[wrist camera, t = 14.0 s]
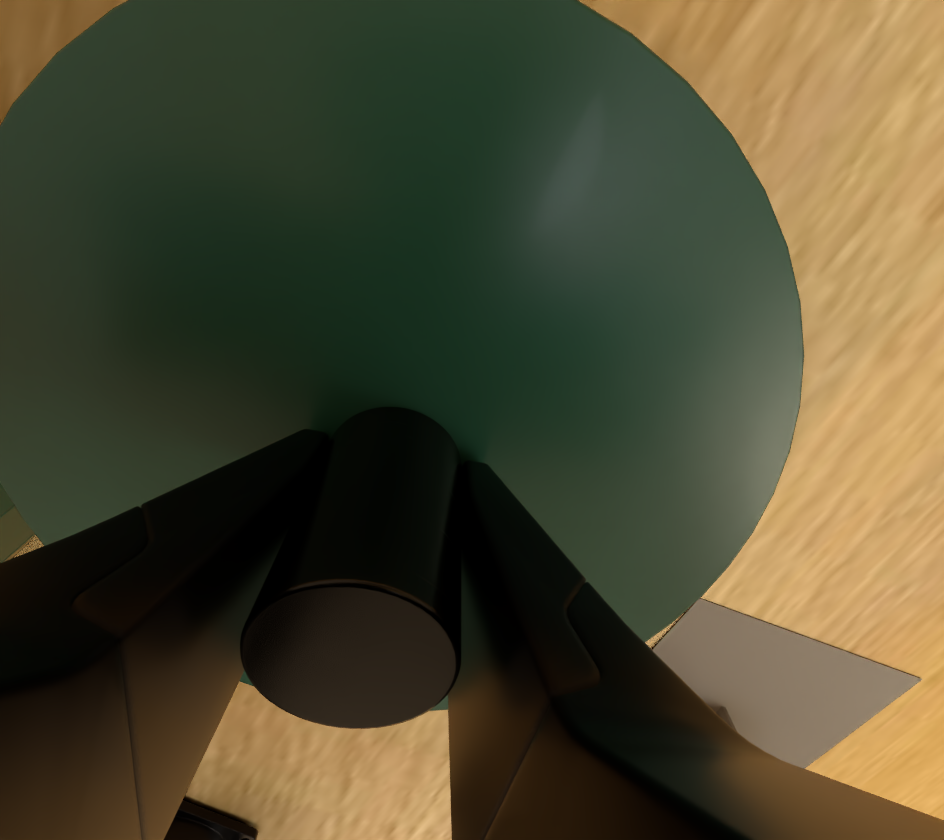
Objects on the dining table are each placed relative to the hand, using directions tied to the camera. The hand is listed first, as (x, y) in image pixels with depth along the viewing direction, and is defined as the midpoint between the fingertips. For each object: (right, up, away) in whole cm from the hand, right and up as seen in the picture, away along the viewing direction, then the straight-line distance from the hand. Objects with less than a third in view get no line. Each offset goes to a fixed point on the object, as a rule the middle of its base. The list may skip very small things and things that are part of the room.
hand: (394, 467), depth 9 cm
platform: (+12, -15, +16) cm, 25 cm away
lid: (0, 0, 0) cm, 0 cm away
